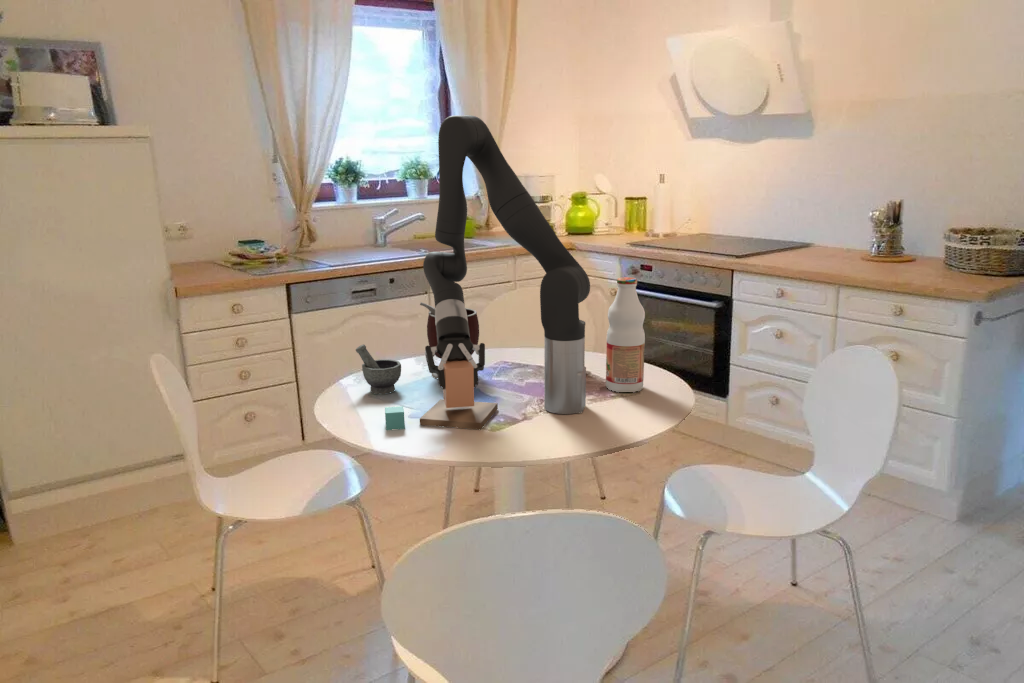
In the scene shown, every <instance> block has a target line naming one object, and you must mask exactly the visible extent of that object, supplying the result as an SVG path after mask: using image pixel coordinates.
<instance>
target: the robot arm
mask: <svg viewBox="0 0 1024 683" xmlns="http://www.w3.org/2000/svg"><path fill="white" fill-rule="evenodd" d="M437 143H438V173H439V174H438V175H439V176H438V177H439V178H438V179H439V180H438V181H439V184H438V185H439V189H438V190H439V195H438V207H437V208H438V209H437V215H436V223H435V224H436V225H435V232H434V238H435V240H436V241H437V242H438V243H439V244H442V245H445V246H449V247H451V248H452V250H453V252H447V251H445V252H444V251H431V252H429V253H427V254H426V256H425V257H424V258H423V262H422V263H423V264H422V265H423V266H422V268H423V272H424V276H425V278H426V280H427V282H428V284H429V287H430V289H431V292H432V295H433V300H434V308H435V325H436V331H437V340H438V344H437V346H436V347H430V346H429V345H426V346H425V350H424V355H425V359H426V364H427V368H428V371H429V373H430V374H432V373H436V374H437V375H438V379H437V380H438V386H439V387H440V388H442V390H443V389H445V386H446V385H445V375H444V371H443V369H444V365H443V364H446V362H447V361H463V360H466V361H467V362H471V363H472V365H473V367H474V388H476V387H477V386H478V384H479V373H478V372H479V371H483V370H484V369H485V365H486V345H485V343H484V342H480V343H479V344H478V345H473V343H472V342H471V340H470V334H469V326H468V318H467V312H466V309H465V308H466V304H465V297H464V291H463V287H462V286H461V285H460V284H459V282H462V281H463V280H464V279H465V277H466V276H467V272H468V263H467V259H466V250H465V234H466V228H467V227H466V224H467V221H468V220H467V218H468V204H467V198H466V194H465V189H464V180H463V177H464V176H463V172H464V166H465V162H466V158H468V159H469V160H470V162H471V163H473V165H474V167H475V168H476V169H477V171H478V172H479V173H480V175H481V177H482V179H483V181H484V185H485V188H486V194H487V199H488V204H489V206H490V209H491V211H492V213H493V214H494V217H496V219H497V221H498V222H499V224H500V225H501V227H502V228H503V229H504V230H505V232H506V233H507V235H508V236H509V237H510V238H512V240H514V241H515V242H516V243H517V244H519V245H520V246H521V247H522V248H523V249H525V250H526V251H527V252H528V253H529V254H531V256H533V257H534V258H535V259H536V260H537V262H538V263H539V264H540V266H541V268H542V269H543V271H544V273H545V275H544V276H543V277H542V279H541V282H540V288H539V302H540V303H539V304H540V305H539V306H540V320H541V324H542V328H543V331H544V333H543V335H544V346H543V347H544V356H543V357H544V363H543V364H544V369H543V370H544V371H543V372H544V373H543V374H544V376H543V377H544V378H543V380H544V387H543V389H544V391H543V392H544V394H543V395H544V396H543V397H544V399H543V401H544V406H543V407H544V410H545V411H547V412H550V413H551V414H559V415H571V414H582V413H583V412H584V409H585V407H586V406H587V405H586V404H587V403H586V402H587V400H586V397H587V396H586V395H587V394H586V393H587V392H586V391H587V367H586V366H585V353H586V352H585V350H586V349H585V344H586V343H585V342H586V325H585V326H584V324H583V323H581V322H580V320H581V319H580V312H579V310H580V308H579V304H580V303H581V302H583V301H585V300H586V299H587V298H588V297H589V294H590V293H591V292H590V291H591V282H590V278H589V275H588V273H587V272H586V271H585V269H584V268H583V267H582V265H581V264H580V263H579V261H577V260H576V258H575V257H574V256H573V255H572V254H571V253H570V251H569V250H568V249H567V248H566V246H565V245H564V244H563V242H562V241H561V240H560V238H559V237H558V235H557V234H556V232H555V230H554V229H553V228H552V226H551V225H550V223H549V222H548V220H547V218H546V217H545V216H544V214H543V213H542V211H541V209H540V208H539V207H538V205H537V203H536V201H535V200H534V198H533V197H532V196H531V194H530V193H529V192H528V190H527V188H526V187H525V186H524V185H523V183H522V182H521V180H520V179H519V177H518V176H517V174H516V173H515V171H514V170H513V168H512V167H511V166H510V165H509V163H508V161H507V160H506V158H505V156H504V154H503V153H502V151H501V149H500V147H499V146H498V143H497V142H496V139H495V138H494V136H493V134H492V131H491V130H490V129H489V126H488V125H487V124H486V123H485V122H484V120H483V119H481V118H480V117H478V116H476V115H470V114H469V115H467V114H459V115H458V114H457V115H456V114H454V115H449V116H448V117H446V118H444V120H443V121H442V122H441V125H440V126H439V131H438V142H437ZM472 350H474V353H475V355H478V362H477V363H476V361H475V360H474V358H473V355H470V353H471V352H472ZM435 352H437V353H438V354H439V355H440V356H441V357H442V359H441V358H440V362H439V364H438V365H436V364H435V360H434V357H436V356H435Z"/></svg>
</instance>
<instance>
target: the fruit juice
mask: <svg viewBox="0 0 1024 683" xmlns="http://www.w3.org/2000/svg"><path fill="white" fill-rule="evenodd" d="M616 285H617V292H616V294H615V297H614V299H613V300H614V301H613V302H612V303H611V304H610V306H609V308H608V310H607V319H608V324H609V325H608V326H609V327H608V329H607V330H606V351H605V352H606V357H605V362H606V363H605V387H606V388H608V389H607V390H608V391H611V390H612V391H611V392H614V391H616V392H615V393H619V392H633V393H636V392H635V391H638V392H640V391H641V389H642V390H643V388H644V378H645V377H644V375H645V374H644V371H645V345H646V344H645V343H646V337H645V336H646V335H645V330H644V327H643V325H644V321H645V318H646V313H645V308H644V307H643V305H642V303H641V301H640V299H639V296H638V293H637V286H638V279H637V278H635V277H632V276H631V277H630V276H629V277H624V276H622V277H618V278H617V280H616ZM639 390H640V391H639Z"/></svg>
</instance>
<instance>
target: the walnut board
mask: <svg viewBox="0 0 1024 683" xmlns="http://www.w3.org/2000/svg"><path fill="white" fill-rule="evenodd" d="M497 409H498V403H497V402H486V401H485V402H484V401H474V406H469V407H454V408H446V405H445V402H444V399H442V398H441V399H439V400H438V401H436V403H435V404H434V405H433V406H431V408H429V410H427V411H426V412H425V413H424V414H423V415H421V417H420V418H419V426H428V427H429V426H430V427H439V426H441V427H442V426H444V427H442V428H452V427H458V428H457V429H465V428H467V430H468V429H469V430H477V429H478V430H479V429H480V431H481V430H482V429H483V428H484V427H483V426H485V425H486V424H487V423H488V422H489V421H490V419H491V418H492V417H493V416H494V414H496V412H497V411H498V410H497ZM492 415H493V416H492ZM491 416H492V417H491ZM487 421H488V422H487ZM441 427H440V428H441ZM482 427H483V428H482Z"/></svg>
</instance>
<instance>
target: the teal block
mask: <svg viewBox="0 0 1024 683" xmlns="http://www.w3.org/2000/svg"><path fill="white" fill-rule="evenodd" d="M384 414H385V416H384V417H385V418H384V419H385V420H384V421H385V430H386V431H393V430H392V429H398V430H406V426H405V425H406V424H405V423H406V421H405V408H404V406H403V405H400V406H388V407H387V406H385V407H384Z"/></svg>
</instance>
